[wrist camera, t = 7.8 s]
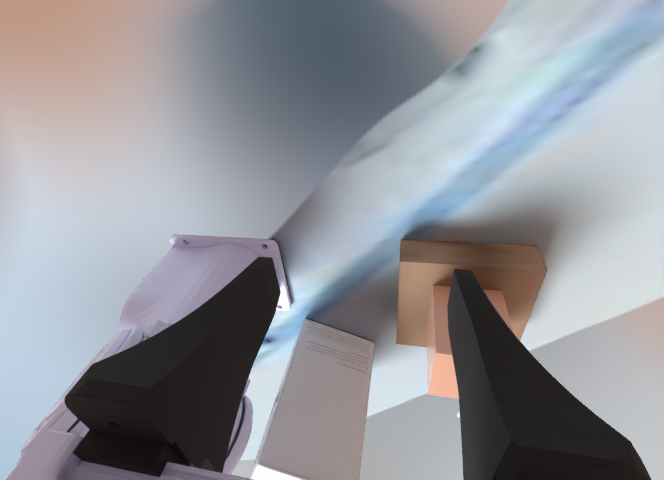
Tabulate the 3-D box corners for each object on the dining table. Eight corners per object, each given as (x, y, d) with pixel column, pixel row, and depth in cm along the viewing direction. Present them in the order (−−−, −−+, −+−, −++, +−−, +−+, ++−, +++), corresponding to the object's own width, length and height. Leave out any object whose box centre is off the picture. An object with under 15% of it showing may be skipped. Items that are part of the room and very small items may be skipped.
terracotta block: (426, 326, 26) (428, 394, 22) (432, 285, 24) (436, 352, 19) (488, 333, 25) (502, 405, 21) (502, 291, 23) (522, 363, 19)
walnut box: (397, 316, 31) (396, 343, 28) (400, 235, 25) (399, 261, 23) (506, 325, 29) (514, 356, 26) (534, 240, 23) (547, 269, 21)
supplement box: (304, 315, 32) (255, 463, 22) (377, 341, 33) (361, 499, 23) (288, 355, 37) (242, 493, 27) (352, 377, 37) (330, 521, 27)
